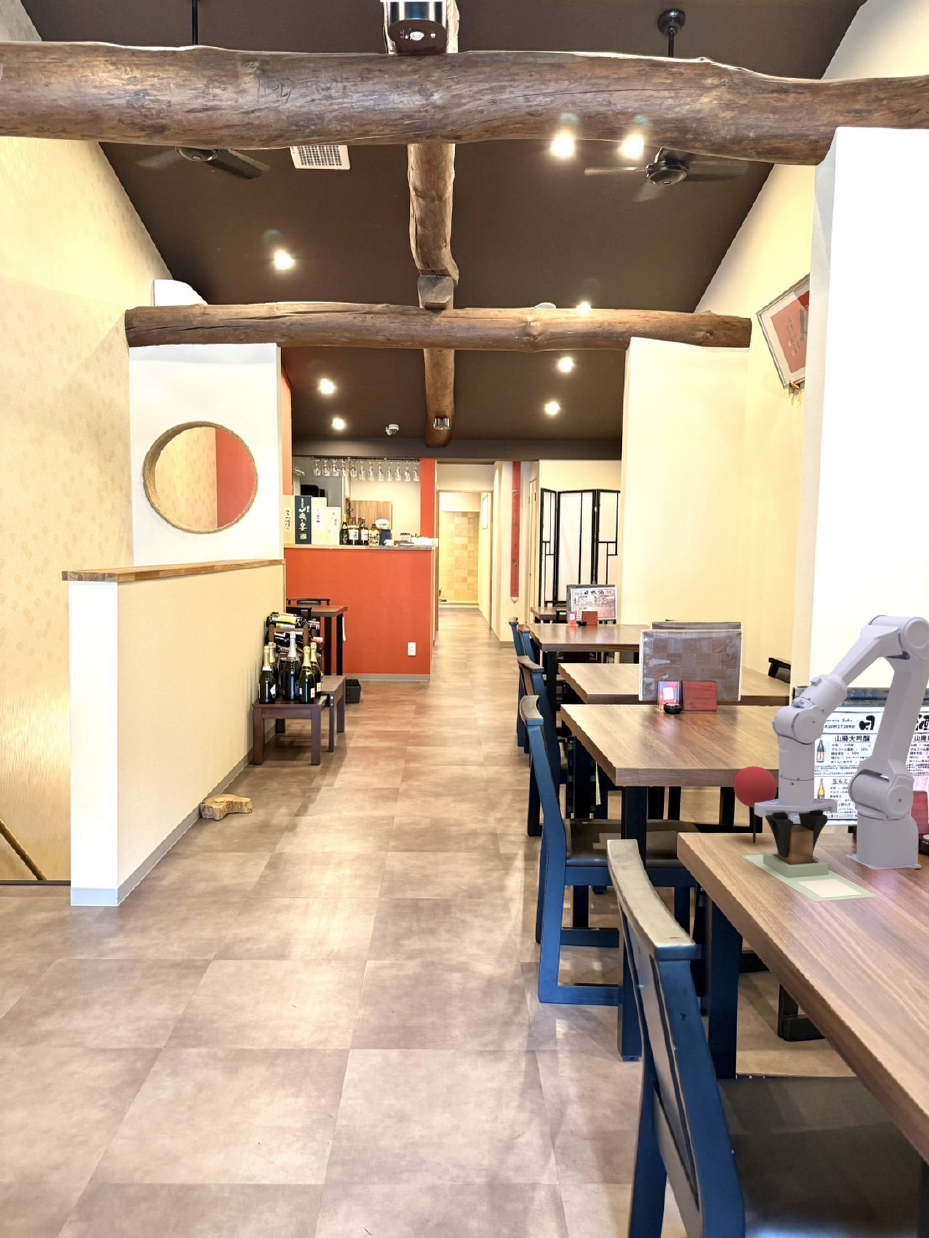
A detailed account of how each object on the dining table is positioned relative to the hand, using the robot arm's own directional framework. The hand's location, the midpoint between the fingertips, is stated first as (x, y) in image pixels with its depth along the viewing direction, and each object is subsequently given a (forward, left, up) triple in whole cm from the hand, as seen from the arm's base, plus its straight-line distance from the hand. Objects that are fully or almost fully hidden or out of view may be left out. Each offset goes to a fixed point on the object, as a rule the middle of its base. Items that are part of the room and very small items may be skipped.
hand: (795, 854), depth 145 cm
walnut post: (0, 0, -2) cm, 2 cm away
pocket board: (0, +3, -3) cm, 4 cm away
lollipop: (-1, -15, -3) cm, 15 cm away
